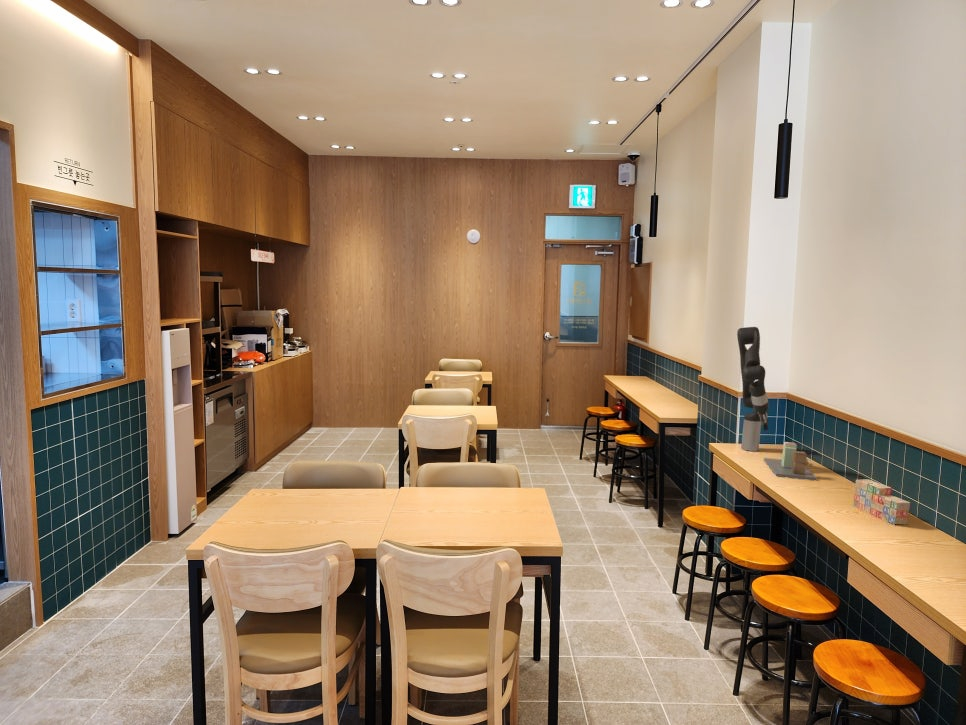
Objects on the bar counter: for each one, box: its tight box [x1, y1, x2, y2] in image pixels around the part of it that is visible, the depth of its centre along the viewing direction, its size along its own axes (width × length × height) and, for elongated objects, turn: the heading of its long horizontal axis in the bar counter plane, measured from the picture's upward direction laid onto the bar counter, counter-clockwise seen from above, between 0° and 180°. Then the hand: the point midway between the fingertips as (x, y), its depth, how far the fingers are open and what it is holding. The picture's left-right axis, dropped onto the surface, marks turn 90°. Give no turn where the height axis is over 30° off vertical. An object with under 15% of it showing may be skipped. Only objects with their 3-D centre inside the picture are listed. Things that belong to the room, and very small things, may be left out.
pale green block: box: [781, 445, 797, 468], centre depth 326 cm, size 5×5×10 cm
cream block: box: [783, 441, 798, 449], centre depth 335 cm, size 5×5×10 cm
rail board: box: [763, 457, 817, 481], centre depth 326 cm, size 31×18×2 cm, turn 167°
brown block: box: [791, 450, 808, 474], centre depth 315 cm, size 5×5×10 cm
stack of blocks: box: [852, 478, 911, 525], centre depth 262 cm, size 21×6×12 cm, turn 12°
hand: (765, 429), depth 333 cm, fingers closed
